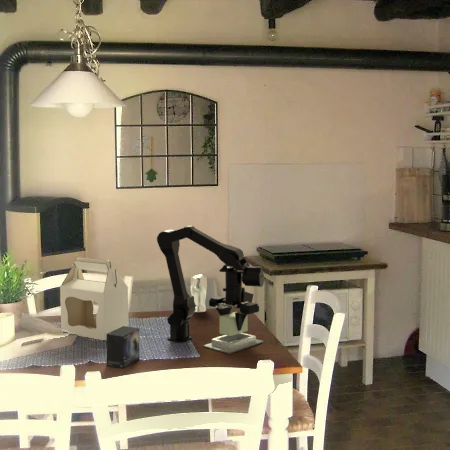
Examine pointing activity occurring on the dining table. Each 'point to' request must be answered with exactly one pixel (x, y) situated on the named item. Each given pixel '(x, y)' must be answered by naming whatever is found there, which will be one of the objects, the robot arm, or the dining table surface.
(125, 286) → the gable box
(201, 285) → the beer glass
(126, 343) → the small box
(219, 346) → the collar
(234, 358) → the dining table surface
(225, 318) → the green block
